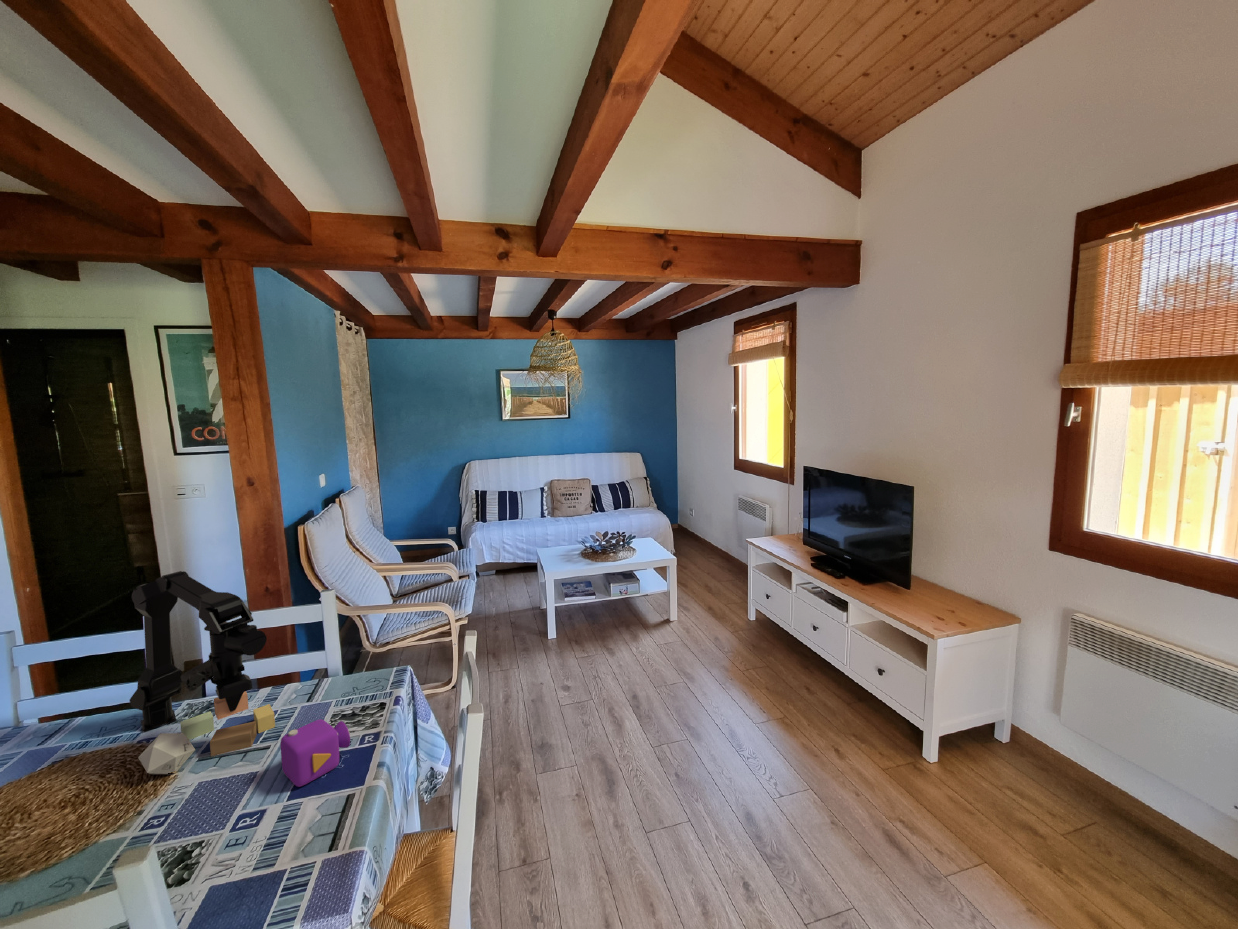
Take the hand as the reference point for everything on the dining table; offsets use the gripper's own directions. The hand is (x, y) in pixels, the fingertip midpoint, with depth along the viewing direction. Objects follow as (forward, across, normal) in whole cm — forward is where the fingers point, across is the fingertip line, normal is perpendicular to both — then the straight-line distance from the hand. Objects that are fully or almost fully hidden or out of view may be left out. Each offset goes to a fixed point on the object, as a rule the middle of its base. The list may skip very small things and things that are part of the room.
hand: (231, 707), depth 119 cm
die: (+10, -1, -12) cm, 16 cm away
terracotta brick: (+1, 0, 0) cm, 1 cm away
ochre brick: (+10, -4, +7) cm, 13 cm away
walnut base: (+10, 0, 0) cm, 10 cm away
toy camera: (+10, +24, +12) cm, 29 cm away
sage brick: (+10, -13, -6) cm, 17 cm away
